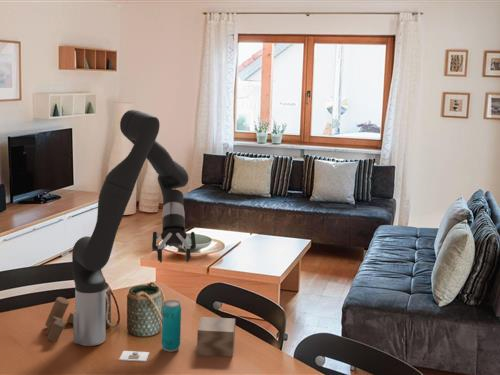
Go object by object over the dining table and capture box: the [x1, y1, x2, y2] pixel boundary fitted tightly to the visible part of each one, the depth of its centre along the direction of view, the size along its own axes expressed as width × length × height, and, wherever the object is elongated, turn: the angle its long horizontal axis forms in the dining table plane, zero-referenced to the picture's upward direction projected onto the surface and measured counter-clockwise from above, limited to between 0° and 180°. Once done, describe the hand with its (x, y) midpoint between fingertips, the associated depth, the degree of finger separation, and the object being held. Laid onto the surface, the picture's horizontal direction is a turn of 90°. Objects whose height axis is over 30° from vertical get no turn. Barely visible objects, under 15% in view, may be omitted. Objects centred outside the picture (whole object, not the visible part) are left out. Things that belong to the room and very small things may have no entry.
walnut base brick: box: [196, 316, 236, 358], centre depth 208 cm, size 11×11×8 cm
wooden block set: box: [45, 296, 74, 343], centre depth 216 cm, size 18×9×10 cm, turn 178°
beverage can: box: [161, 299, 182, 353], centre depth 206 cm, size 6×6×15 cm
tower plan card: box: [118, 350, 150, 363], centre depth 201 cm, size 8×6×1 cm
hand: (174, 261), depth 215 cm, fingers open, 8 cm apart
